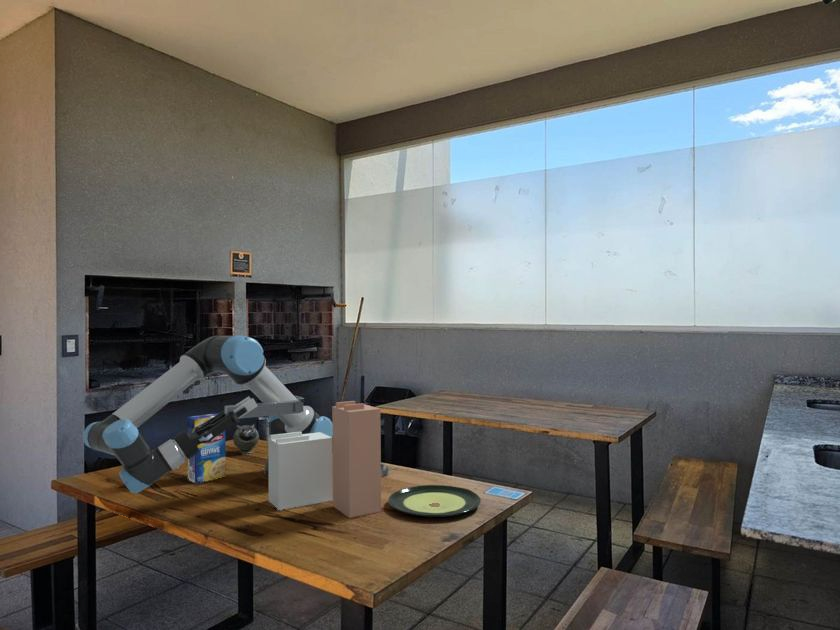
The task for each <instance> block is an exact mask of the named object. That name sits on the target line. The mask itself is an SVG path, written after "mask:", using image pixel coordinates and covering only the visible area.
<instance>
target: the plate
mask: <svg viewBox="0 0 840 630" xmlns="http://www.w3.org/2000/svg"><path fill="white" fill-rule="evenodd" d="M387 502H388V504H389V506H390V507H391V508H393V509H395V510H397V511H399V512H402V513H403V514H404V513H405V514H407V515H412V516H417V517H423V518H424V517H427V518H444V517H445V518H446V517H447V518H448V517H452V516H458V515H462V514H465V513H468V512H471V511H473V510H475V509H476V508H477V507H479V506H480V504H481V502H482V499H481V497H480V496H479V494H477V493H476V492H474V491H473V490H470V489H468V488H465V487H458V486H453V485H443V484H442V485H441V484H426V485H425V484H424V485H417V486H409V487H405V488H401V489H399V490H397V491H395V492H393V493H391V495H389V496H388V499H387ZM432 503H439V504H440V506H439V507H431V506H429V504H432Z"/></svg>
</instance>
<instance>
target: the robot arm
mask: <svg viewBox="0 0 840 630" xmlns="http://www.w3.org/2000/svg"><path fill="white" fill-rule="evenodd" d="M266 362H267V361H266V357H265V355H264V349H263V347H262V345H261V344H260V343H259V341H257V340H256V339H255V338H252V337H250V336H246V335H214V336H210V337H208V338H206V339H204V340H202V341H201V342H199V343H197V344H196V345H195V346H193V347H191V349H189V350H188V351H186V352H185V353H184V354H183V355H180V357H179V362H178V363H176V364H175V365H173V366H172V367H171V368H169V370H168V371H166V372H165V373H163V374H162V375H161V376H159V377H158V378H157V379H155V381H153V382H152V383H150V384H149V385H148V386H147V387H145V388H144V389H143V390H141V391H140V392H139V393H137V394H136V395H135V396H132V398H131V399H130V400H128V401H127V402H126V403H124V404H123V405H122V406H121V407H120V408H118V409H117V410H116V411H114V412H113V413H112V414H110V415H109V416H107V417H106V418H105V419H103V420H102V421H101V420H100V421H95V422H92V423H90V424H88V425H87V426H86V428H85V429H84V431H83V434H82V440H83V443H84V445H85V446H87V447H88V448H90V449H92V450H93V451H96V452H102V453H105V454H109V455H112V456H115V458H116V459H117V460H118V461H119V462H120V464H121V465H122V467H123V469H121V471H119V473H118V475H119V478H120V479H121V481H122V483H124V485H125V487H126V488H127V490H129V492H131V493H132V494H135V495H136V494H138V493H140V492H142V491H143V490H145V489H147V488H148V487H151V486H152V485H153V484H154V483H155V482H157V481H159V480H161V479H162V478H163V477H165V476H166V475H167V474H169V473H170V472H172V471H173V470H175V469H176V470H177V469H180V467H181V465H183V464H184V463H186V459H187V460H188V459H190V458H192V457H193V456H195V455H196V454H198V453H199V449H198V447H197V446H198V445H200V444H201V443H206V442H207V443H209V442H211V441H212V440H213V439H214V438H215V437H217V436H218V435H220V434H221V433H222V432H224V431H225V432H226V431H227V430H228V429H230V428H231V427H233V426H234V425H237V423H240V419H239V418H241V417H242V416H244V415H245V414H247V413H248V412H250V411H251V410H253V409H254V408H256V407H257V406H258V405H257V404H256V403H257V402H256V401H255V399H254V398H253V397H252V398H251V397H250V396H247V397H246V398H244V399H242V400H241V401H240V402H238V403H236V404H235V405H241V406H240V407H238V408H237V409H235V410H234V411H233V412H232V413H231V414H229V415H228V416H226V417H225V409H223V410H222V411H221V412H219V413H218V414H217V415H216V416H214V417H213V418H211V419H209V420H208V421H206V422H205V423H203V424H201V425H199V426H197V427H196V428H195V431H194V432H193V433H192V434H191V435H189V434H188V430H182V431H181V432H180V433H177V434H176V435H175V436H174V437H173V439H169V440H167V441H165V442H164V443H162V444H160V445H159V446H158V447H156V448H154V449H153V450H151V447H150V446H149V445H148V444H147V442H146V441H145V439H144V437H143V436H142V435H141V433H140V432H139V429H138V428H139V427H141V425H143V424H144V423H145V422H147V420H149V419H150V418H151V417H153V416H154V415H155V414H156V413H157V412H159V411H160V410H161V409H163V407H165V406H166V405H168V403H170V402H171V401H172V400H173V399H174V398H176V397H177V396H178V395H179V394H181V393H182V392H184V391H185V390H186V389H187V388H188V387H190V386H191V385H193V383H194V382H196V381H202V380H203V379H205V378H206V377H207V376H210V375H211V374H214V373H223V374H226V375H227V376H228V377H229V378H230V379H231V380H232V381H233V382H234V383H235V384H236V385H239V386H246V387H247V388H248V389H249V390H250V391H251V392H252V393H253V395H255V396H256V397H257V398H258V399H259V400H260V402H261V403H268V402H280V401H292V400H298V398H297V397H295V396H294V395H293V393H292V392H291V391H290V390H289V389H288V388H287V387H286V386H285V384H283V383H282V381H280V380H279V378H277V376H275V374H274V373H273V372H272V371H271V370H270V368H268V367H267V366H266V364H267V363H266ZM241 419H242V418H241ZM267 423H268V438H270V435H275V434H284V433H293V432H302V434H309V433H317V432H321V433H323V434H325V435H328V436H330V437H332V438H333V428H332V421H331V419H330V417H329V418H328V417H327V416H324V415H323V416H321V415H319V414H318V413H317V412H316V411H315V410H314V409H313V408H312V407H311V406H310V405H303V412H301V413H294V414H283V415H273V416H268V422H267ZM263 470H264V471H263V475H264V476H266V477H268V478H269V469H268V457H267V458H266V462H265V465H264V468H263Z"/></svg>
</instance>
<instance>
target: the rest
mask: <svg viewBox="0 0 840 630" xmlns="http://www.w3.org/2000/svg"><path fill="white" fill-rule="evenodd" d="M267 440H268V441H267V443H268V447H267V448H268V455H267V458H268V469H269V477H268V502H269V504H271V503H272V504H273V505H274V506H275V507H276V508H277V509H276V508H275V507H274V508H275V509H276V510H277V511H279V510H280V511H284V510H283V509H285V510H288V509H289V508H290V509H295V508H294V507H296V508H300V506H301V507H305V506H306V507H307V506H312V505H315V504H321V503H327V502H333V436H332V437H330V436H328V435H325V434H323V433H321V432H317V433H309V434H302V432H293V433H284V434H275V435H270V438H269V437H268V439H267ZM272 504H271V505H272ZM273 505H272V506H273ZM290 509H289V510H290Z"/></svg>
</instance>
